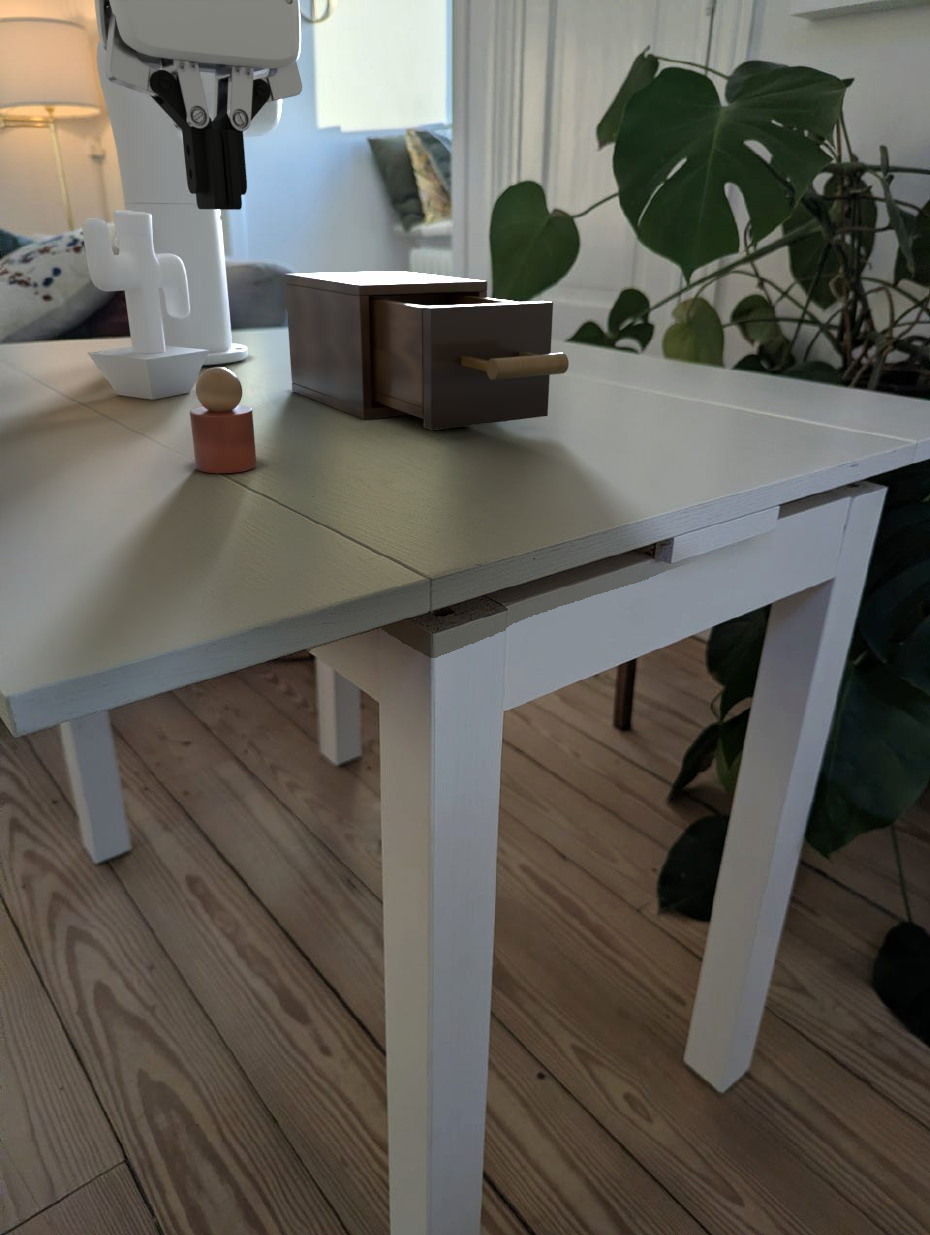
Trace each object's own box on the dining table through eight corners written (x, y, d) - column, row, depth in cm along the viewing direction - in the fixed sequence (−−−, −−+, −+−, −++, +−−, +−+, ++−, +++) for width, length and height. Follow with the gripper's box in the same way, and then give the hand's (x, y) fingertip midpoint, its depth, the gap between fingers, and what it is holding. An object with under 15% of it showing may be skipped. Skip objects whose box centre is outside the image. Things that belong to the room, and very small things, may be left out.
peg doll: (188, 463, 59) (177, 365, 56) (244, 456, 61) (236, 361, 58) (206, 476, 56) (196, 374, 53) (265, 469, 58) (257, 369, 55)
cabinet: (485, 406, 78) (487, 281, 74) (363, 419, 72) (359, 284, 68) (402, 381, 89) (401, 271, 85) (292, 391, 83) (284, 273, 79)
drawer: (589, 428, 66) (597, 308, 63) (468, 444, 61) (470, 314, 57) (455, 389, 80) (456, 289, 77) (348, 399, 75) (344, 293, 72)
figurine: (221, 389, 83) (205, 211, 77) (141, 406, 76) (116, 209, 70) (165, 382, 87) (145, 210, 81) (83, 397, 79) (54, 209, 73)
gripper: (292, -141, 52) (311, 211, 59) (7, -206, 44) (69, 207, 52) (352, -184, 46) (364, 211, 54) (36, -267, 39) (101, 207, 46)
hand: (219, 208), depth 53 cm, fingers closed
